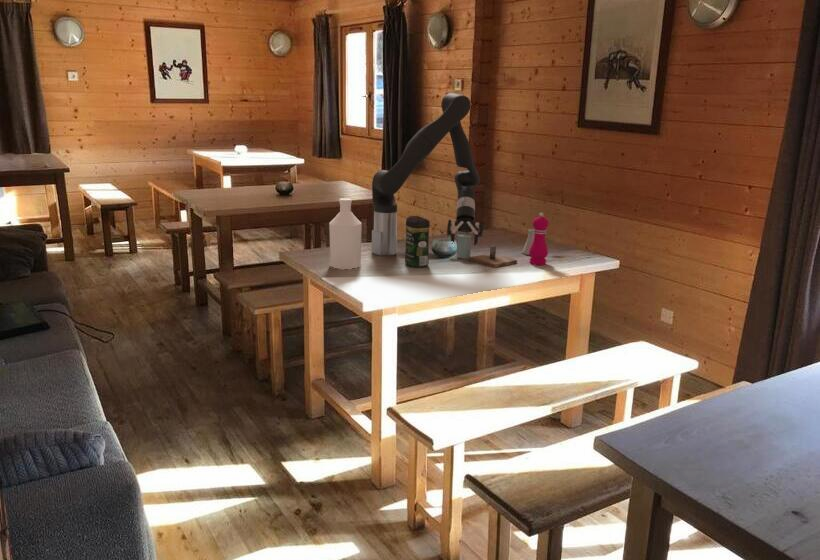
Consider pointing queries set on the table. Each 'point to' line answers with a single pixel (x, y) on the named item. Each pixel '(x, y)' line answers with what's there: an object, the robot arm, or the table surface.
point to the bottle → (345, 238)
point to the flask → (528, 242)
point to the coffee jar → (417, 241)
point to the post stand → (492, 259)
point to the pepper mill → (539, 241)
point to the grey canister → (463, 246)
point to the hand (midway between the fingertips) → (464, 243)
